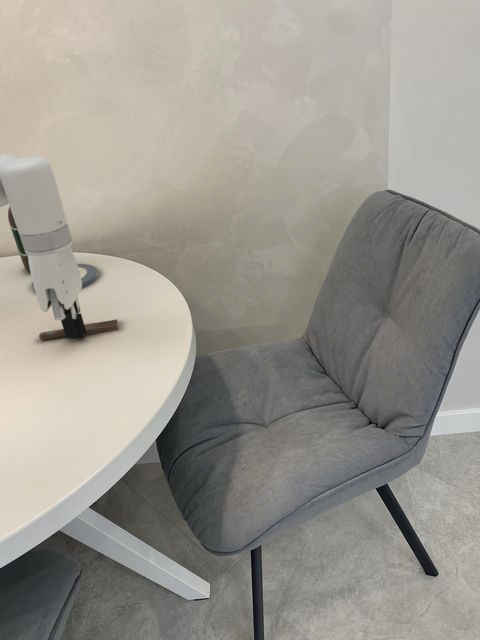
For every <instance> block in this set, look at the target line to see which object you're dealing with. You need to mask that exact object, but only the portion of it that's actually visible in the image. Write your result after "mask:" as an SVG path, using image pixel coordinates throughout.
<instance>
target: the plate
mask: <svg viewBox="0 0 480 640" xmlns="http://www.w3.org/2000/svg"><path fill="white" fill-rule="evenodd" d="M77 266H78V269H79V272H80V276H81V281H82V288H81V289H83V288H86V287H88V286H90V285H91V284H92V283H94V282H95V281H96V280H97V279H98V277H99V272H98V268H97V267H96V266H95V265H92V264H88V263H77ZM31 286H32V288H33V290H34V291H35V288H34V284H33V281H32V282H31Z"/></svg>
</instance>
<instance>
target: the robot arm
mask: <svg viewBox="0 0 480 640" xmlns="http://www.w3.org/2000/svg"><path fill="white" fill-rule="evenodd" d="M7 205H8V207H9V206H10V209H11V212H12V215H13V218H14V220H15V223H16V226H17V229H18V232H19V235H20V238H21V241H22V244H23V247H24V250H25V253H26V254H28V261H29V267H30V272H31V274H30V276H31V277H30V278H31V281H32V282H33V284H34V288H35V290H34V291H35V295H36V298H37V302H38V305H39V308H40V310H41V311H42V312H44V313H46V312H48V311H49V309H50V308H52V313H53V318H54V320H55V321H60V323H61V326H62V329H64V332H65V335H66V336H65V337H66V339H68V340H71V339H80V338H81V339H83V338H85V333H86V329H85V322H84V319H83V316H82V312H81V306H80V302H79V298H78V297H79V295H80V293H81V291H82V289H83V288H82V281H81V276H80V272H79V269H78V266H77V264H78V262H77V260H76V257H75V254H74V251H73V249H72V245H73V243H74V241H73V238H72V235H71V231H70V228H69V224H68V221H67V217H66V214H65V210H64V207H63V203H62V200H61V197H60V193H59V189H58V186H57V182H56V179H55V176H54V172H53V169H52V165H51V163H50V162H49V160H47V158H45V157H42V156H36V155H29V156H22V157H17V156H13V155H8V154H3V153H0V208H2V207H5V206H7ZM34 288H33V289H34Z"/></svg>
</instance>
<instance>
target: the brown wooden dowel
mask: <svg viewBox="0 0 480 640" xmlns="http://www.w3.org/2000/svg"><path fill="white" fill-rule="evenodd" d="M84 325H85V329H86V333H85V336H90V335H91V336H92V335H96V334H102V333H109V332H113V331H118V330H119V321H118V319H110V320H105V321H104V320H103V321H99V322H92V323H91V322H90V323H84ZM85 336H84V337H85ZM63 337H66V335H65V332H64V328H61V329H53V330H49V331H42V332H40V333H39V335H38V339H40V340H41V341H46V340H52V339H57V338H63Z"/></svg>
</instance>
